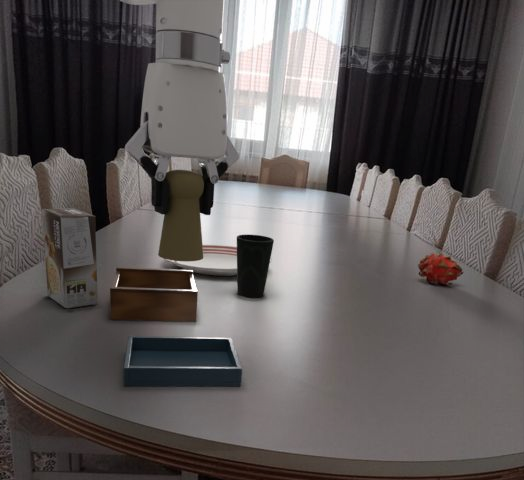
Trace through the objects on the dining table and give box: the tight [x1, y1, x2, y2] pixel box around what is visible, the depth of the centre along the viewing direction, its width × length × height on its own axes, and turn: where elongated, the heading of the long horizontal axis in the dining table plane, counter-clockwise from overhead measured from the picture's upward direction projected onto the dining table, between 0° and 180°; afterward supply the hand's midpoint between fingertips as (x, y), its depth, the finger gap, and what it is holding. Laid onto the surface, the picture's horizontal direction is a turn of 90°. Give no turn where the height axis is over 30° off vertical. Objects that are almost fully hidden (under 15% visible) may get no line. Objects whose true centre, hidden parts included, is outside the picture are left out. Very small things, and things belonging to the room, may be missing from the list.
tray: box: [123, 335, 243, 387], centre depth 73 cm, size 15×11×3 cm
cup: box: [236, 234, 275, 299], centre depth 108 cm, size 8×8×12 cm
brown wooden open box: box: [109, 266, 199, 323], centre depth 96 cm, size 15×15×6 cm
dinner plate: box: [162, 244, 272, 277], centre depth 130 cm, size 28×27×3 cm
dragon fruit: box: [417, 252, 464, 286], centre depth 135 cm, size 8×8×12 cm
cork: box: [157, 169, 204, 261], centre depth 68 cm, size 6×6×11 cm
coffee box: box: [41, 207, 99, 309], centre depth 93 cm, size 9×6×16 cm
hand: (182, 211), depth 68 cm, fingers closed on cork, 5 cm apart
